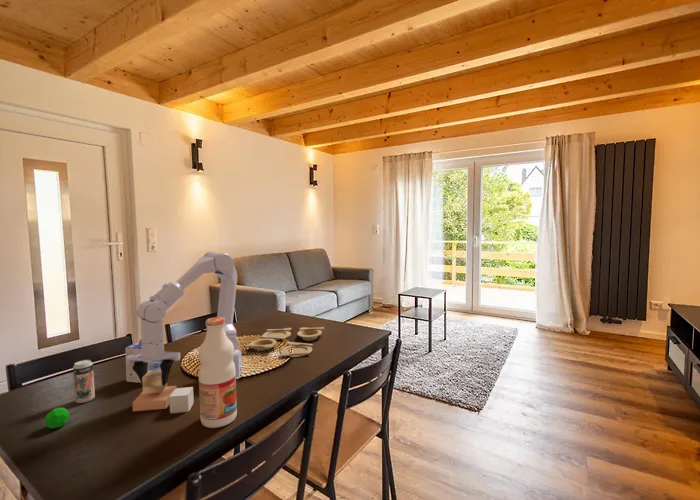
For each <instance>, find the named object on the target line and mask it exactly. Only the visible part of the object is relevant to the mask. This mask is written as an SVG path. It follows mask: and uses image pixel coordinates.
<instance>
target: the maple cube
mask: <svg viewBox="0 0 700 500" xmlns="http://www.w3.org/2000/svg"><path fill="white" fill-rule="evenodd" d="M142 382H143V387H142V392H143V394H149V393H161V392H162V391H163V390H164V389H165V387H166V386H168V382H167V384H166V385H163V384H162V372H161V370H149V371H148V372H147V373H146V374H145V375H144V376H143V377H142Z"/></svg>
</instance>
